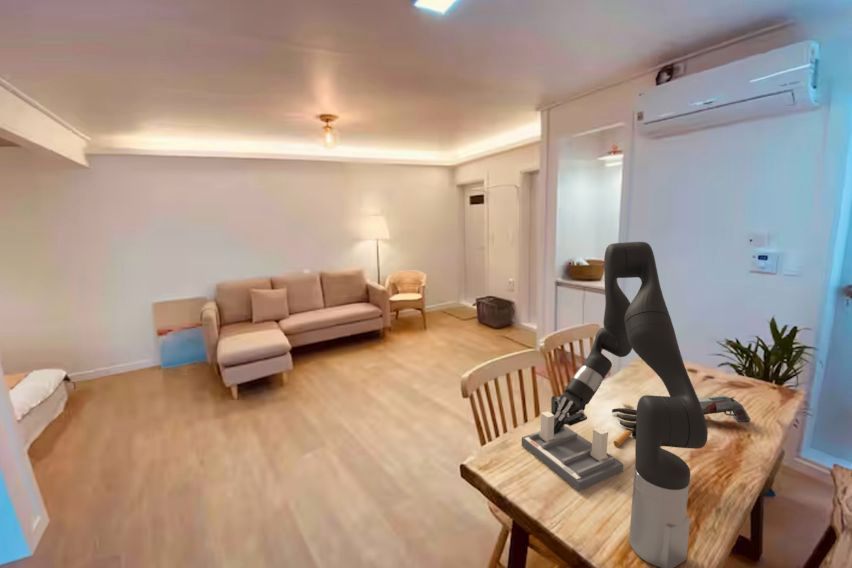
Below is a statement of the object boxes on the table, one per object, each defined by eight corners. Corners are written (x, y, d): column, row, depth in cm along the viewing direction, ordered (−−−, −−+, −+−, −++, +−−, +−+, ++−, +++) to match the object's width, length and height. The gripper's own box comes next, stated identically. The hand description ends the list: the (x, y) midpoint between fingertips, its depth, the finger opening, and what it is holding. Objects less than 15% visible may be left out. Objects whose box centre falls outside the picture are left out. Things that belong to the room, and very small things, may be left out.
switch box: (622, 472, 102) (623, 459, 101) (578, 491, 95) (579, 478, 95) (561, 431, 122) (562, 420, 121) (521, 444, 115) (521, 433, 114)
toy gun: (679, 423, 131) (675, 396, 129) (744, 417, 127) (741, 389, 125) (685, 430, 126) (682, 402, 125) (753, 424, 123) (750, 395, 121)
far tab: (554, 441, 112) (555, 416, 110) (548, 443, 111) (548, 418, 109) (545, 435, 115) (546, 410, 113) (539, 437, 114) (540, 412, 112)
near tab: (607, 459, 103) (609, 432, 101) (601, 462, 102) (602, 435, 100) (596, 452, 106) (598, 426, 104) (590, 455, 105) (591, 428, 103)
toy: (676, 472, 103) (698, 425, 123) (677, 461, 102) (699, 414, 123) (590, 439, 118) (623, 402, 139) (590, 429, 118) (623, 392, 139)
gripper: (561, 370, 120) (530, 415, 117) (596, 386, 108) (562, 437, 106) (573, 382, 123) (543, 426, 120) (608, 399, 112) (575, 449, 109)
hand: (552, 431), depth 113 cm, fingers closed
